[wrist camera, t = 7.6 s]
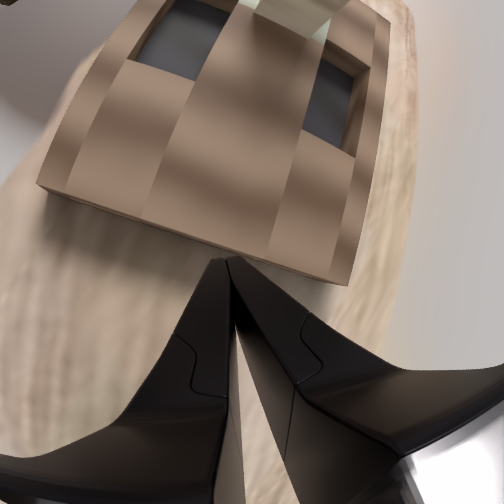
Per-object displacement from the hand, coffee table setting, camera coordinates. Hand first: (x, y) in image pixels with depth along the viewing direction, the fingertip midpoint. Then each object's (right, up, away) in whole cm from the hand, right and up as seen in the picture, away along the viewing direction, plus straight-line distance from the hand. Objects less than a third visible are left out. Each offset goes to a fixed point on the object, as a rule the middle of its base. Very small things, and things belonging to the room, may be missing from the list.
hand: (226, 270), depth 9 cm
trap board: (+1, +15, +14) cm, 20 cm away
